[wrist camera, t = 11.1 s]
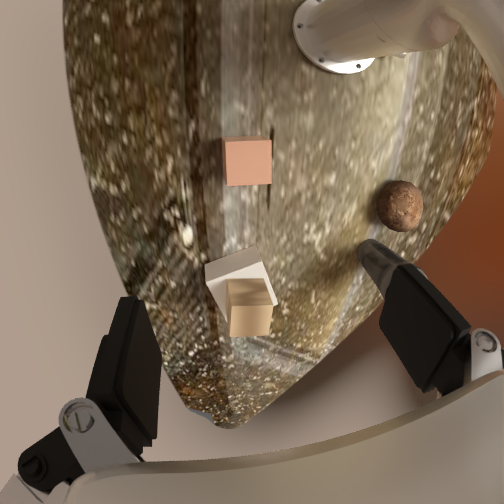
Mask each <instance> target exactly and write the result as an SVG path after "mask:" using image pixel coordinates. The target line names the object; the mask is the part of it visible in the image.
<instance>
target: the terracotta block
mask: <svg viewBox="0 0 504 504" xmlns="http://www.w3.org/2000/svg"><path fill="white" fill-rule="evenodd" d="M222 153H223V174H224V178H225V181H226V184H227V186H239V185H255V184H272V159H271V140H270V139H267V138H265V137H263V136H237V137H222Z"/></svg>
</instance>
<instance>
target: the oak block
mask: <svg viewBox="0 0 504 504" xmlns="http://www.w3.org/2000/svg"><path fill="white" fill-rule="evenodd" d="M225 309H226V316H227V322H228V329H229V335H230V337H241V336H262V335H268V334H269V328H270V323H271V317H272V311H273V302H272V300H271V297H270V294H269V291H268V289H267V286H266V283H265V281H264V278H229V279H227V285H226V305H225Z"/></svg>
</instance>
